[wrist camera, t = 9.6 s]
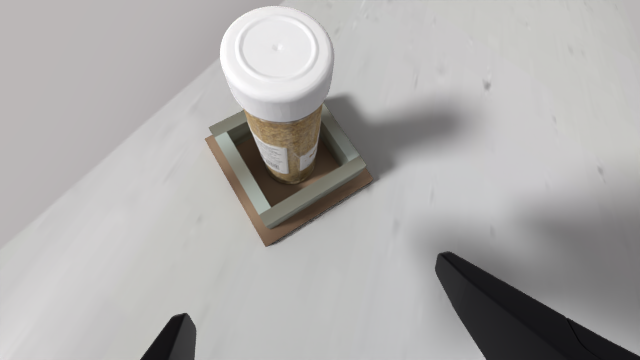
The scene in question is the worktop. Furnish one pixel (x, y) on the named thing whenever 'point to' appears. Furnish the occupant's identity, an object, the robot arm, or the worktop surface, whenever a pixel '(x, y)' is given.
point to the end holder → (278, 198)
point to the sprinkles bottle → (280, 84)
